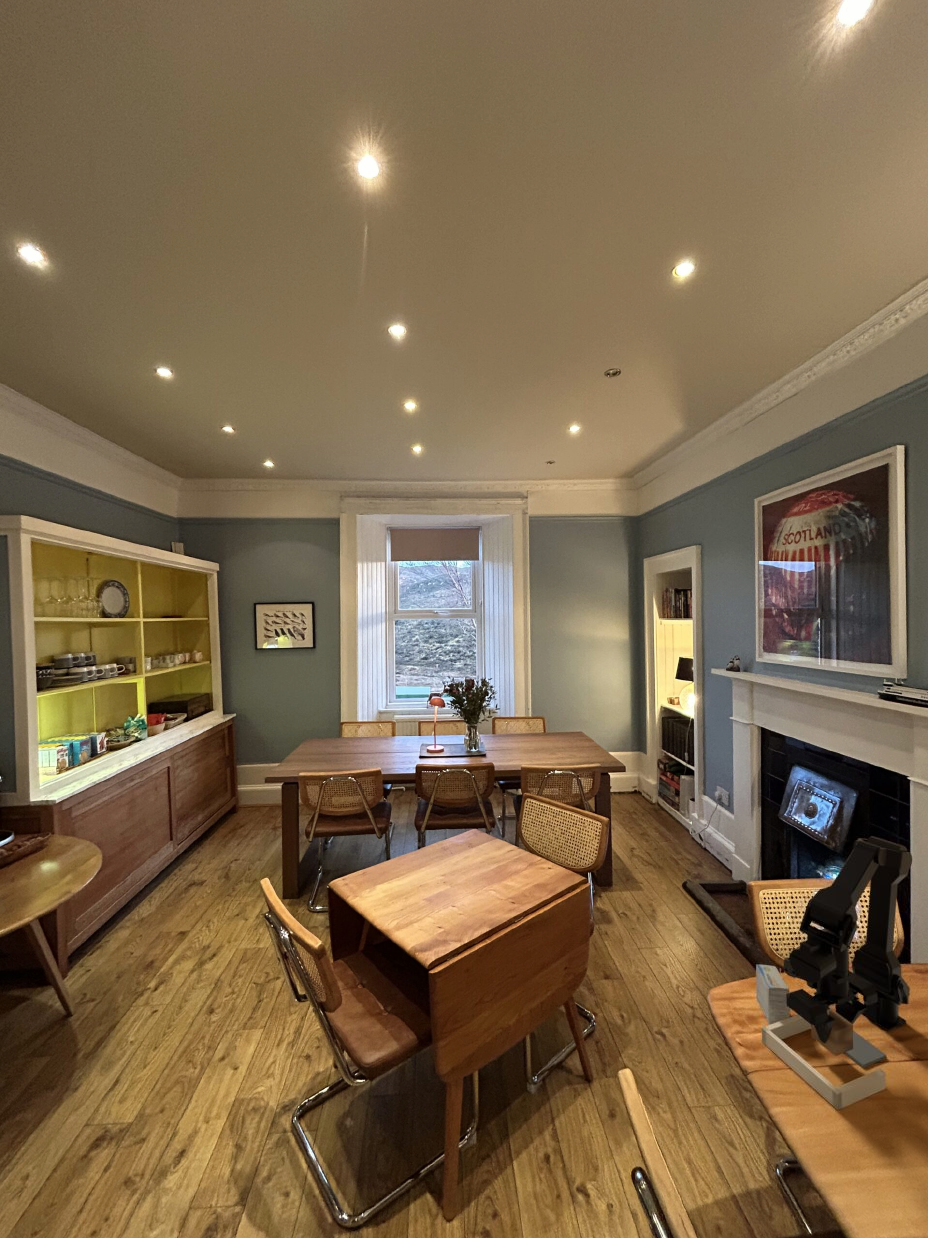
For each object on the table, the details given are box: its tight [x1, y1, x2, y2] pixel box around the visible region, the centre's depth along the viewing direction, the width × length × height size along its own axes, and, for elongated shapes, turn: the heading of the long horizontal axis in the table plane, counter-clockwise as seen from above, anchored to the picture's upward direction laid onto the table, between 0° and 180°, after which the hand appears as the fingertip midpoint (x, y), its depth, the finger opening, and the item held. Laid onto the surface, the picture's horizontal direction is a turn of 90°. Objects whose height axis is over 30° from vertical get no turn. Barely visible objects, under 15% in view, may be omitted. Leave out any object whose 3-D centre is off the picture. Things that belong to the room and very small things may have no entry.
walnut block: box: [810, 1007, 854, 1057], centre depth 105 cm, size 5×5×5 cm
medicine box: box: [755, 964, 791, 1025], centre depth 117 cm, size 8×4×9 cm, turn 168°
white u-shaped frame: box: [761, 1014, 887, 1111], centre depth 104 cm, size 13×16×3 cm
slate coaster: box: [844, 1030, 887, 1069], centre depth 109 cm, size 7×11×1 cm, turn 19°
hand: (832, 1038), depth 105 cm, fingers closed on walnut block, 5 cm apart
